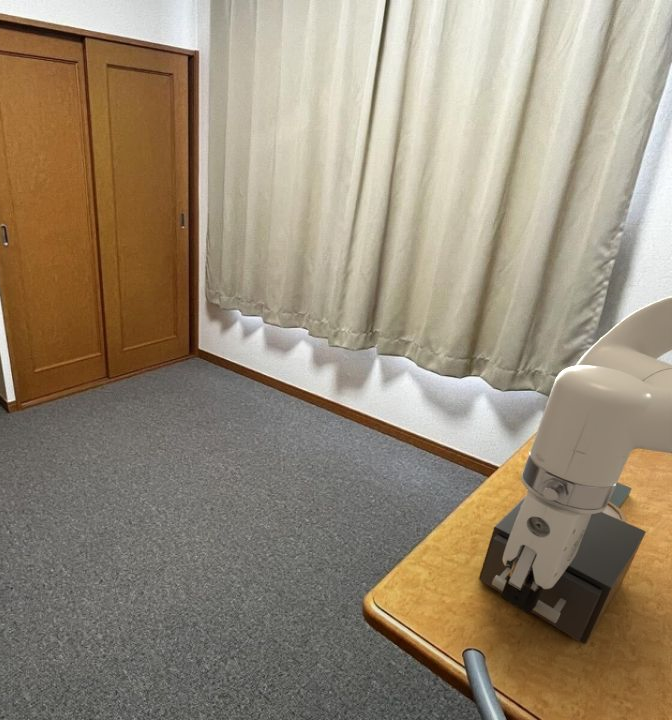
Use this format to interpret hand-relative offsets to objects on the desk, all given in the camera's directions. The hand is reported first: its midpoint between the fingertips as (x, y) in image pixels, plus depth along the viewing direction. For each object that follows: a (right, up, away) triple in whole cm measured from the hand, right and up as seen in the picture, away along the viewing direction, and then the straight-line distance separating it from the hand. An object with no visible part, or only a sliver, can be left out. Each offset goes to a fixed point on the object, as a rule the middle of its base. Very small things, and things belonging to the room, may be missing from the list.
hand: (517, 602), depth 58 cm
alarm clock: (+22, +2, +18) cm, 28 cm away
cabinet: (+11, -2, +9) cm, 14 cm away
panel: (+30, +6, +27) cm, 41 cm away
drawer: (+8, -2, +7) cm, 11 cm away
